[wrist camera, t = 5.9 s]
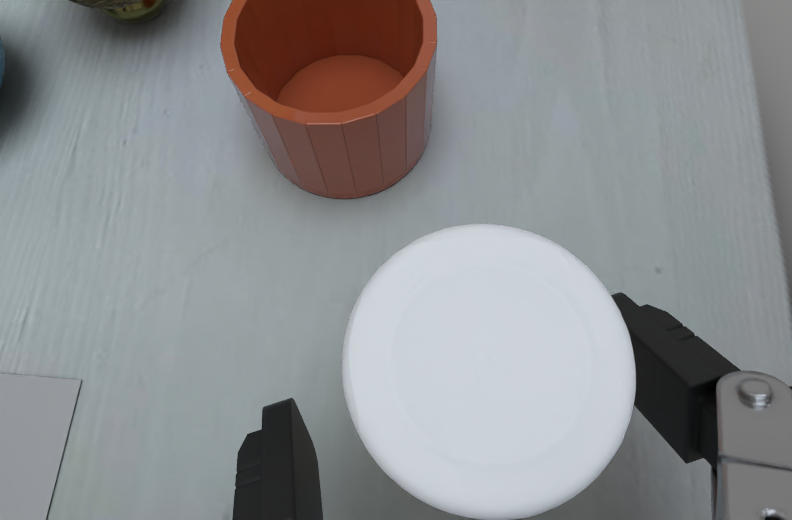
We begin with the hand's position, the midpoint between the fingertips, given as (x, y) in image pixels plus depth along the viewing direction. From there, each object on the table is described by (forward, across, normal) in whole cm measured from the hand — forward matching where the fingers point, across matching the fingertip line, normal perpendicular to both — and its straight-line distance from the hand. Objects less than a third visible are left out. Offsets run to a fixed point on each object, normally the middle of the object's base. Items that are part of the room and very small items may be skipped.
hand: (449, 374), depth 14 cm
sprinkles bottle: (+5, 0, +6) cm, 8 cm away
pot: (+14, 0, -4) cm, 15 cm away
